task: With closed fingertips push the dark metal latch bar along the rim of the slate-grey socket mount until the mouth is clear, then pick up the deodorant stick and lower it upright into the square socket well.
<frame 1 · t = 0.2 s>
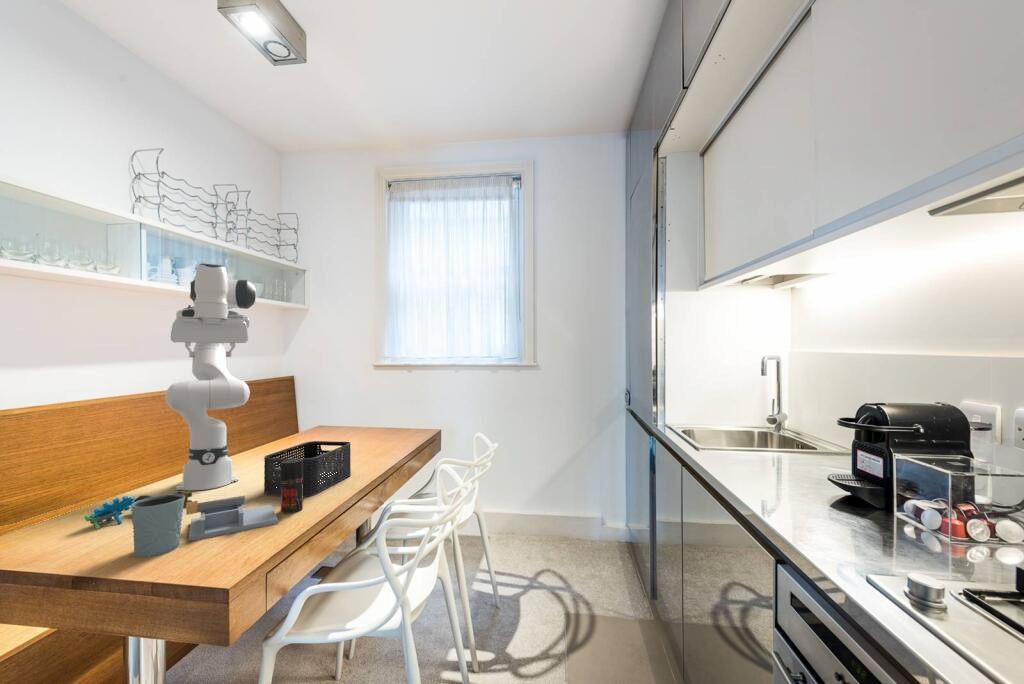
hand: (210, 357, 137), 47 cm above the table, fingers open, 8 cm apart
embossed plant pot: (157, 550, 106), on the table
storage bin: (310, 485, 160), on the table
pipe connector: (167, 512, 133), on the table
deodorant: (291, 510, 132), on the table
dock: (221, 524, 121), on the table
blue green toy: (109, 524, 123), on the table
latch bar: (216, 503, 121), point 6 cm above the table, slide at 0.0 cm
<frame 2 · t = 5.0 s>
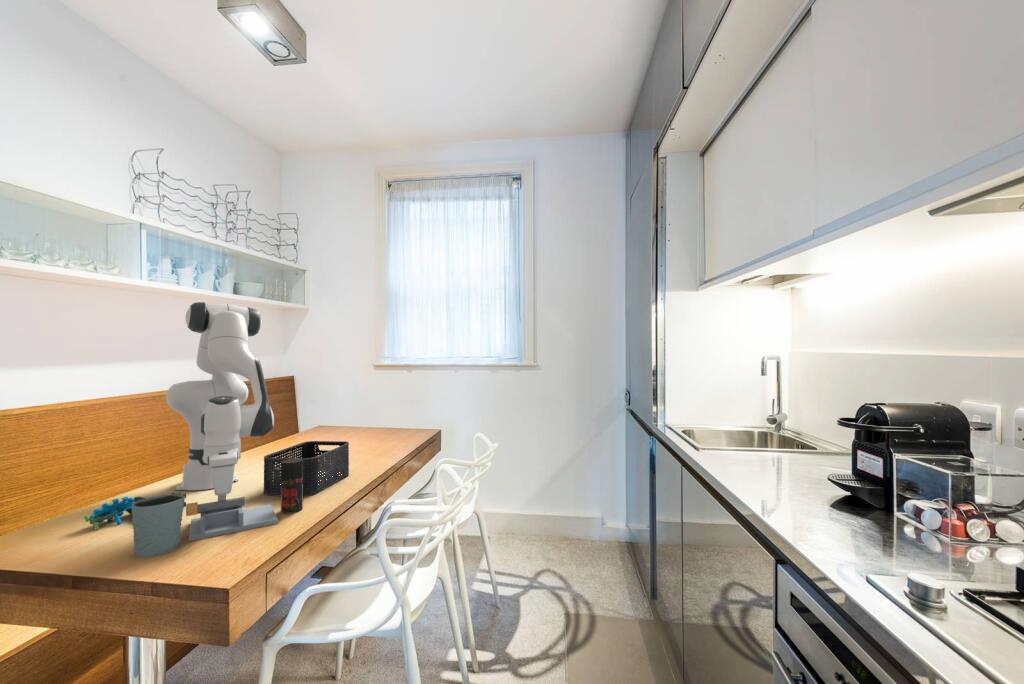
hand: (221, 503, 122), 6 cm above the table, fingers closed
pipe connector: (161, 514, 132), on the table
latch bar: (216, 504, 120), point 6 cm above the table, slide at 1.3 cm, touching gripper
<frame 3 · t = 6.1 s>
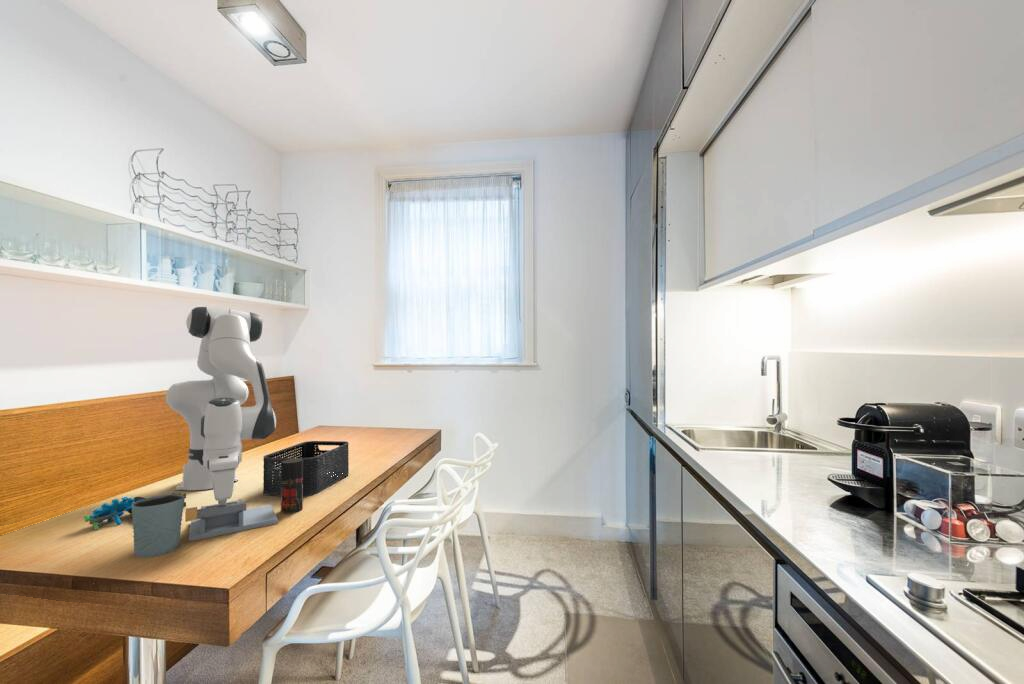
hand: (222, 508, 118), 6 cm above the table, fingers closed
latch bar: (216, 509, 116), point 6 cm above the table, slide at 6.2 cm, touching gripper
everything else where it was.
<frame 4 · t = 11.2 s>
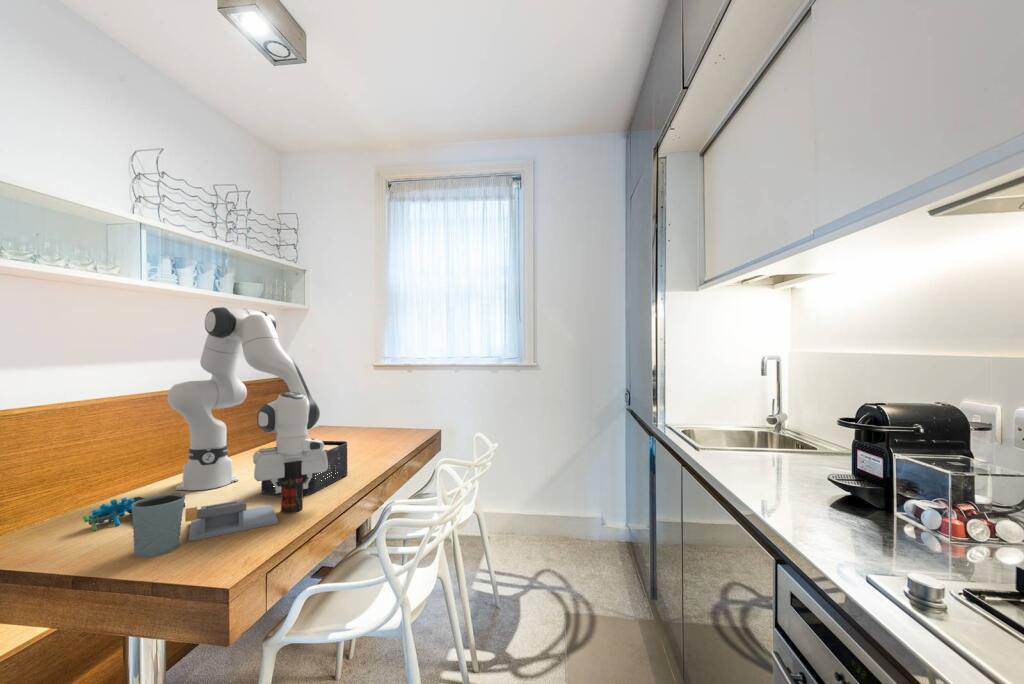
hand: (292, 490, 133), 6 cm above the table, fingers closed on deodorant, 6 cm apart
deodorant: (291, 510, 132), on the table, touching gripper
latch bar: (216, 509, 116), point 6 cm above the table, slide at 6.3 cm
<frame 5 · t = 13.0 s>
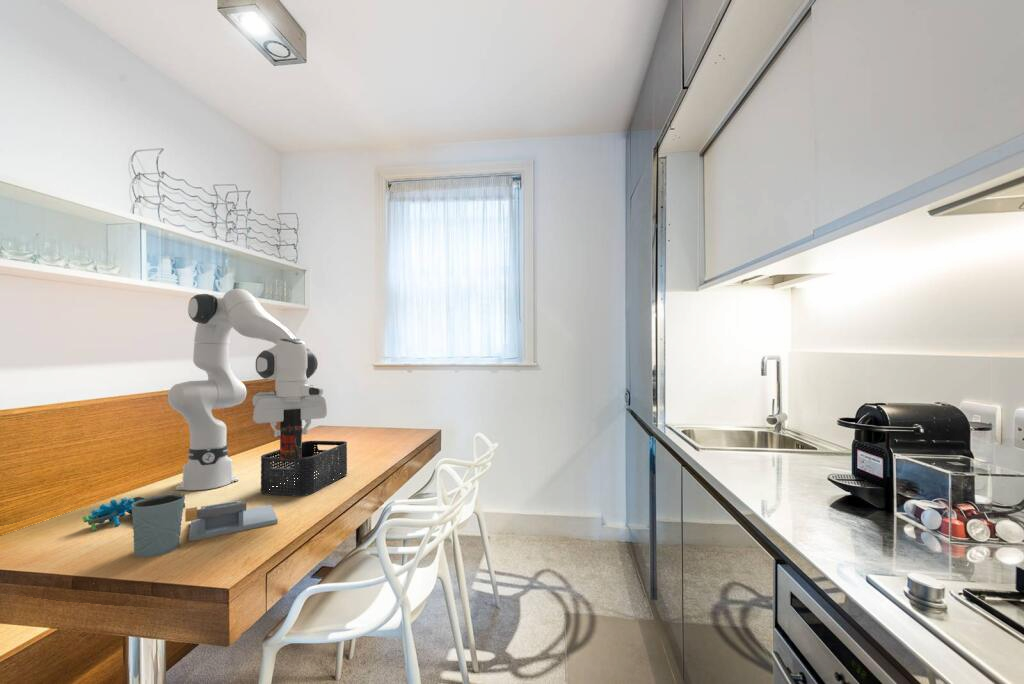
hand: (291, 435, 133), 23 cm above the table, fingers closed on deodorant, 6 cm apart
deodorant: (290, 458, 133), point 16 cm above the table, touching gripper
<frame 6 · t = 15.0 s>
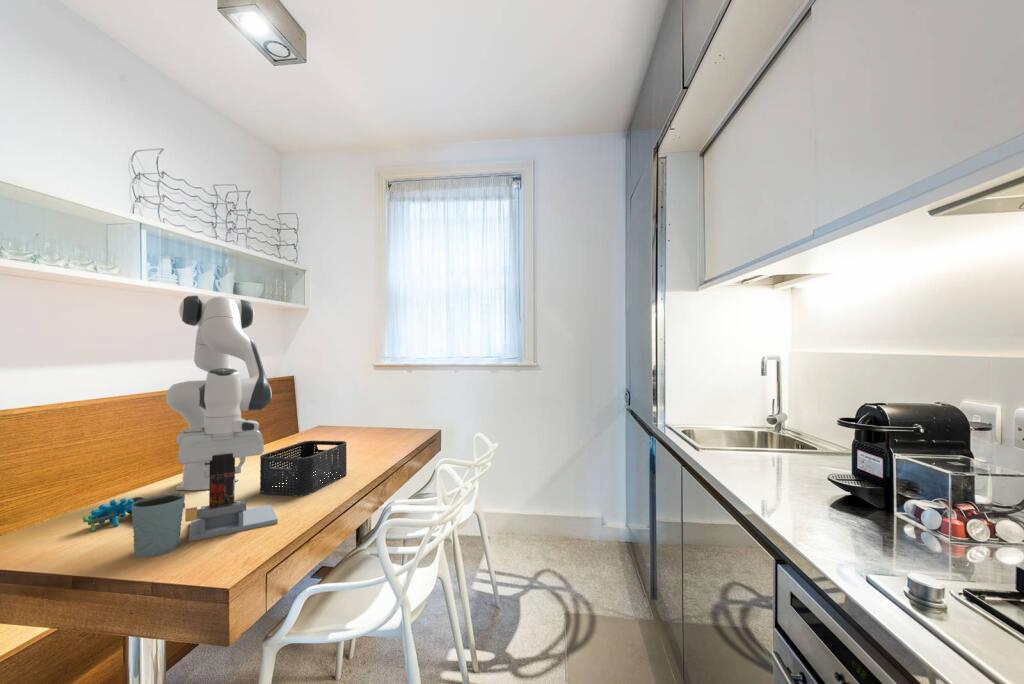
hand: (222, 475, 122), 14 cm above the table, fingers closed on deodorant, 6 cm apart
deodorant: (221, 508, 121), point 5 cm above the table, touching gripper
when the fingers open (9 cm above the table, at t = 16.5 s): deodorant stays where it is, resting on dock.
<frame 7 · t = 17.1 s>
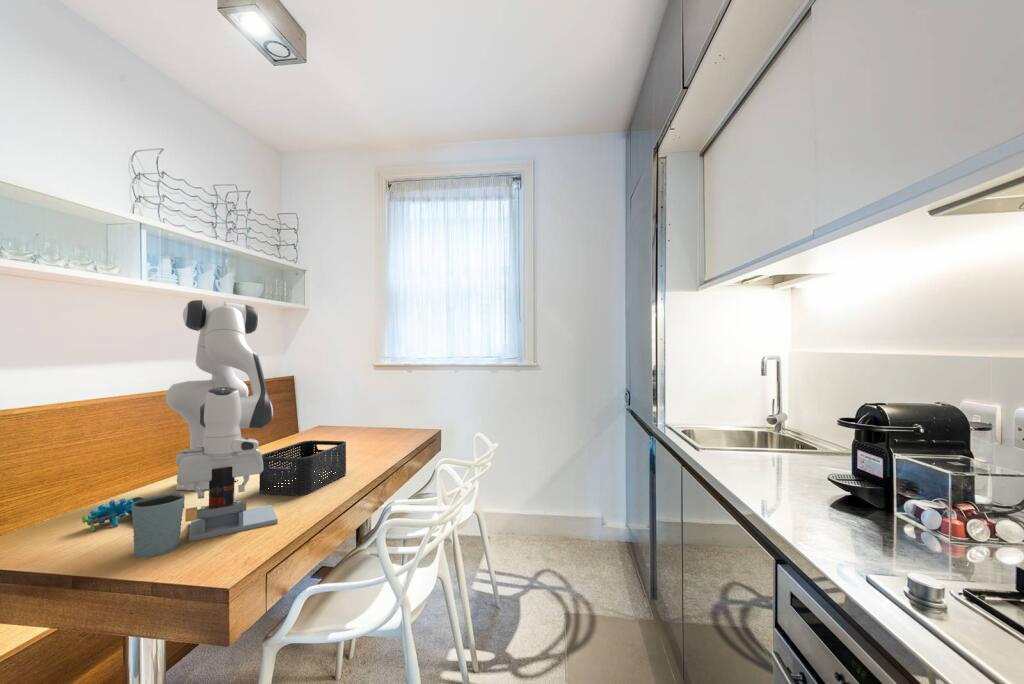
hand: (221, 494, 121), 8 cm above the table, fingers open, 8 cm apart
pipe connector: (159, 515, 131), on the table, touching blue green toy
deodorant: (221, 521, 121), point 1 cm above the table, touching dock
blue green toy: (109, 526, 122), on the table, touching pipe connector
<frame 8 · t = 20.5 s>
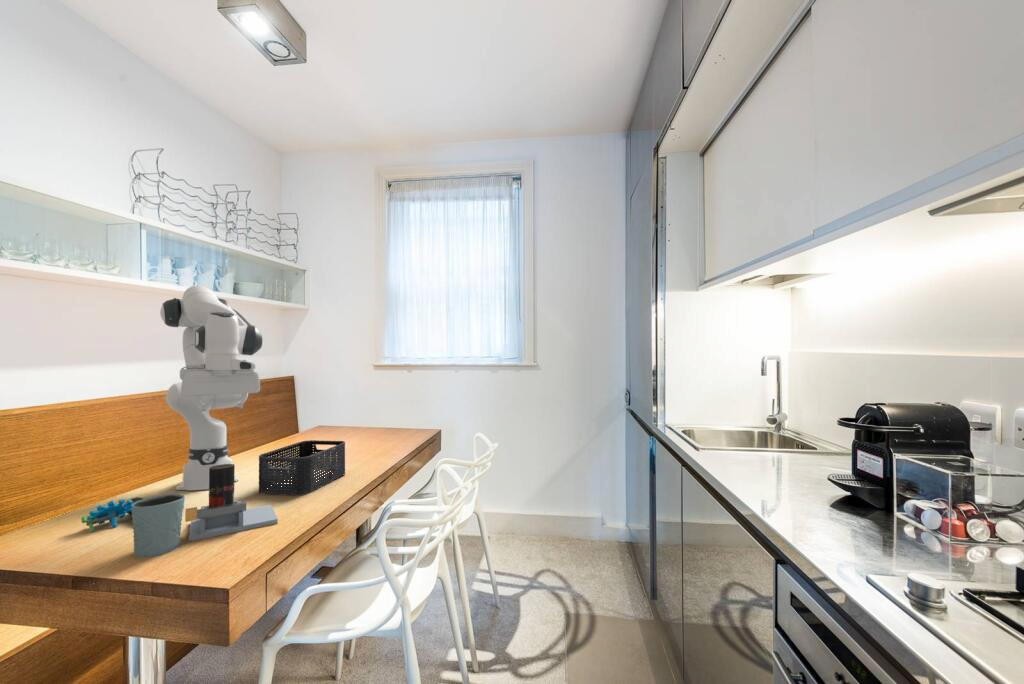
hand: (221, 409, 132), 31 cm above the table, fingers open, 8 cm apart
pipe connector: (158, 515, 130), on the table
blue green toy: (108, 526, 122), on the table
at the end: deodorant 0.1 cm off-centre on the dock, point 1.0 cm above the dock's base; deodorant tilted 0°; latch bar slide at 6.3 cm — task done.
